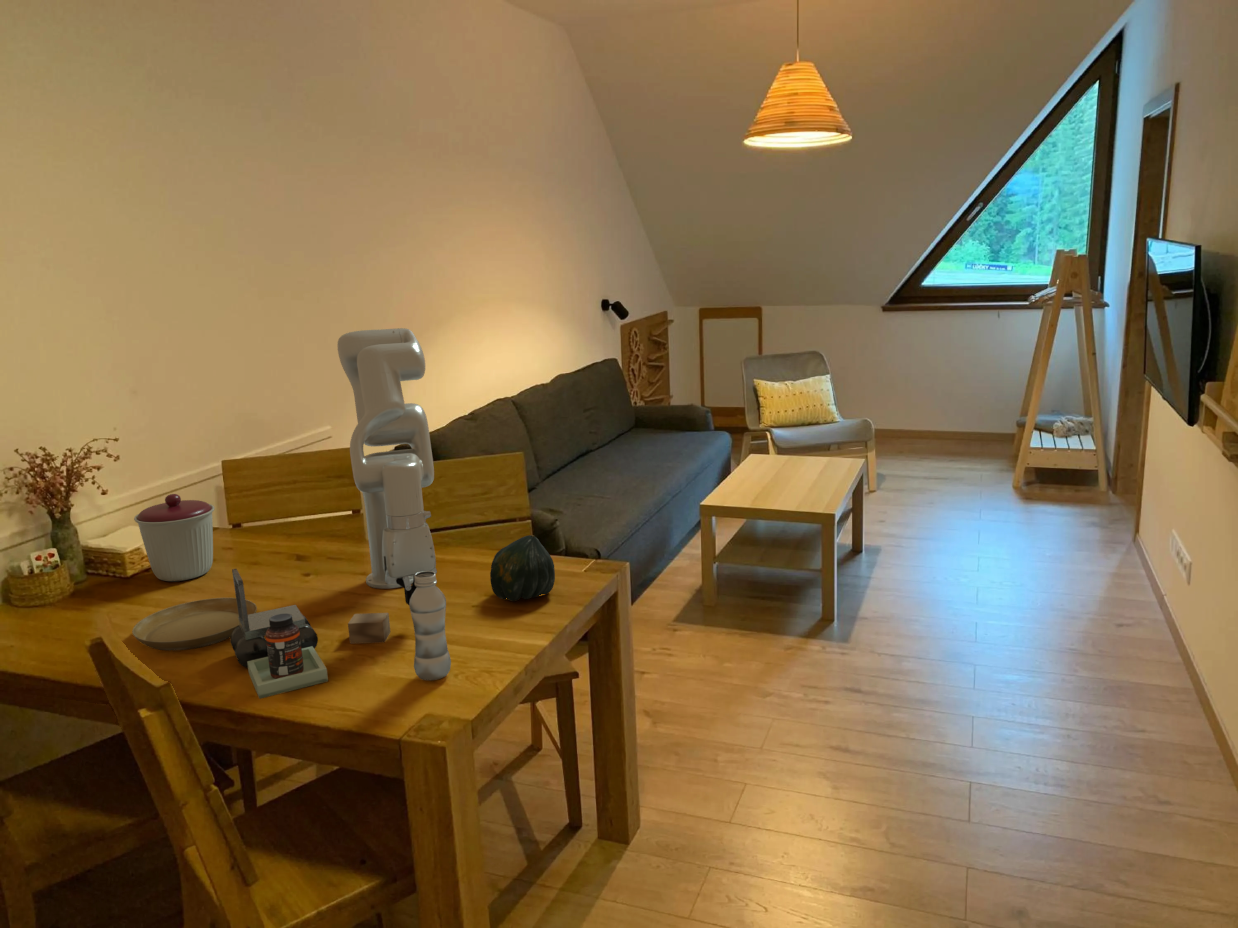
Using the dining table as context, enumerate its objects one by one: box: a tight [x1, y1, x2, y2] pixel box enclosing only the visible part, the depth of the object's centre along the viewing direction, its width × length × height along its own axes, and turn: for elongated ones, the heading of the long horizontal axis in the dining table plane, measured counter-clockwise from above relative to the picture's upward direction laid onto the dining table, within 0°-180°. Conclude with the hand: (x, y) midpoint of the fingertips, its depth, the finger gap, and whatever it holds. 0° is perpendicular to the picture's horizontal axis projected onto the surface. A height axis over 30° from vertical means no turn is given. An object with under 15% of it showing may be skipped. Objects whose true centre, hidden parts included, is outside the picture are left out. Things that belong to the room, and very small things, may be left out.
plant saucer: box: [132, 597, 258, 651], centre depth 191 cm, size 24×24×3 cm
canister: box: [133, 493, 215, 582], centre depth 225 cm, size 18×18×21 cm
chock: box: [347, 612, 391, 645], centre depth 184 cm, size 7×5×4 cm
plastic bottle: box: [408, 571, 452, 681], centre depth 164 cm, size 6×7×20 cm
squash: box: [489, 534, 556, 602], centre depth 203 cm, size 14×15×15 cm
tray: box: [247, 646, 329, 700], centre depth 167 cm, size 12×12×2 cm
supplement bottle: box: [265, 613, 304, 679], centre depth 166 cm, size 6×6×11 cm
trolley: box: [229, 568, 319, 669], centre depth 176 cm, size 15×9×18 cm, turn 120°
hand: (414, 605), depth 187 cm, fingers closed
